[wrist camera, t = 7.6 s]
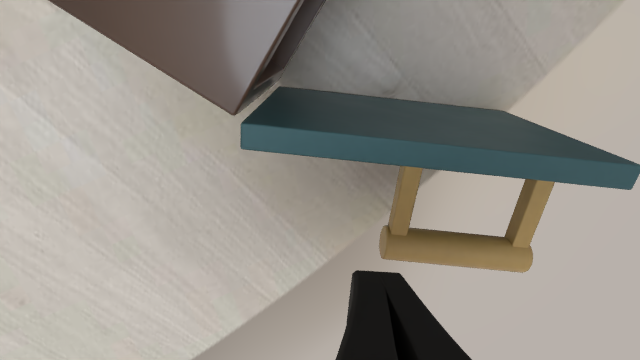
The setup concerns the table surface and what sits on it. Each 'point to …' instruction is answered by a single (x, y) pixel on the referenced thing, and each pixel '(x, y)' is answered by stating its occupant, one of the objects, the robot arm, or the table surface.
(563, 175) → the cabinet door
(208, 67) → the cabinet
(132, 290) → the table surface
